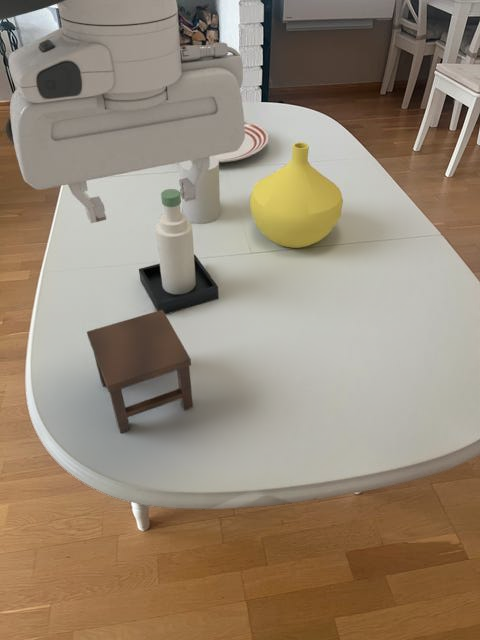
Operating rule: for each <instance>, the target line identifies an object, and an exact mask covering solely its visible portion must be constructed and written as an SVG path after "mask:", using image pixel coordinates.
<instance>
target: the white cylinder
mask: <svg viewBox="0 0 480 640" xmlns="http://www.w3.org/2000/svg"><path fill="white" fill-rule="evenodd" d="M209 157H210V167H209V169H208V171H207V173H206V174H205V176H204V178H203V180H202V182H201V184H199V185H200V199H197V200H192V201H188V202H185V201H184V199H183V198H182V197H181V206H182V213H184V214H185V215H186V217H187V220H188V221H190V222H191V224H192V223H193V224H203V225H204V224H209V223H212V222H215V221H216V220H218V219H219V218H220V216H221V193H220V192H221V191H220V190H221V189H220V163H219V160H218V159H217V158H216V157H214V156H209ZM178 165H179V166H178V167H179V180H180V179H184V178H187V175H188V173H189V171H190V168H191V166H192V162H191V161H190V160H189V161H184V162H179V163H178Z"/></svg>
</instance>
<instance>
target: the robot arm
mask: <svg viewBox="0 0 480 640" xmlns="http://www.w3.org/2000/svg"><path fill="white" fill-rule="evenodd" d="M55 5H56V6H57V9H58V10H57V11H58V14H59V21H60V25H61V27H59V28H58V29H56V30H54V31H52V32H50V33H48V34H46V35H43V36H42V37H40V38H38V39H35V40H34V41H32V42H29V43H27V44H25V45H22V46H21V47H19V48H16V49H15V50H13V51H12V52H11V53H10V54H9V56H8V68H9V73H10V76H11V79H12V82H13V84H14V86H15V88H16V89H15V90H14V92H13V93H12V96H11V98H10V104H9V105H10V106H9V115H10V117H9V118H10V125H11V133H12V139H13V145H14V150H15V154H16V159H17V162H18V166H19V169H20V172H21V176H22V178H23V181H24V182H25V183H26V184H28V185H29V186H30V187H32V188H33V189H35V190H38V191H41V190H47V189H50V188H57V187H62V186H67V187H68V188H69V190H70V193H71V194H72V195H73V197H75V199H76V200H78V201H79V202H80V203H81V204H82V206H83V207H85V213H86V215H87V219H88V220H89V223H90V224H94V223H99V222H103V221H106V220H107V215H106V213H105V211H106V208H105V204H104V202H103V201H102V199H101V197H100V196H93V197H91V196H90V195H89V194H88V193H86V192H88V189H89V188H88V184H87V181H92V180H97V179H102V178H107V177H113V176H117V175H123V174H128V173H132V172H138V171H143V170H147V169H153V168H158V167H164V166H168V165H175V164H179V162H184V161H189V160H190V161H191V162H192V166H191V168H190V171H189V173H188V175H187V178H184V179H180V178H179V184H178V185H179V187H180V189H179V192H180V196H181V199H182V198H183V199H184V201H185V202H188V201H192V200H197V199H200V185H199V184H201V182H202V180H203V178H204V176H205V174H206V173H207V171H208V169H209V167H210V157H209V156H214V155H220V154H225V153H230V152H235V151H237V150H238V149H239V148H240V146H241V145H242V143H243V141H244V139H245V124H244V120H245V114H244V105H243V99H242V94H241V88H242V86H243V82H244V63H243V62H244V61H243V59H242V56H241V55H240V52H239V51H238V50H236V49H235V48H234V47H232V46H229V44H228V43H226V42H221V41H220V42H212V43H211V44H205V45H204V44H203V45H200V44H198V45H197V44H193V45H185V46H184V45H183V46H181V43H180V42H181V40H180V39H181V38H180V23H179V14H178V13H179V7H178V2H177V0H0V21H4V20H8V19H12V18H15V17H17V16H22V15H26V14H29V13H33V12H37V11H40V10H43V9H47V8H49V7H51V6H55ZM229 53H230V54H229Z"/></svg>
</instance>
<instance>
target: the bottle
mask: <svg viewBox="0 0 480 640" xmlns="http://www.w3.org/2000/svg"><path fill="white" fill-rule="evenodd" d="M160 197H161V204H162V205H163V213H162V214H161V215H160V216H159V221H158V222H157V223H156V225H155V235H156V245H157V254H158V261H159V263H160V270H161V278H162V286H163V289H164V290H165V291H166V292H168V293H171V294H185V293H188V292H190V291H191V290H193V289H194V287H195V285H196V279H195V264H194V254H195V251H194V250H195V249H194V234H193V224H192V222H190V221H188V220H187V217H186V215H185V214H184V213H183V212H182V211H181V204H182V197H181V194H180V190H178V189H176V188H168V189H164V190H162V191H161V193H160Z"/></svg>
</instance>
